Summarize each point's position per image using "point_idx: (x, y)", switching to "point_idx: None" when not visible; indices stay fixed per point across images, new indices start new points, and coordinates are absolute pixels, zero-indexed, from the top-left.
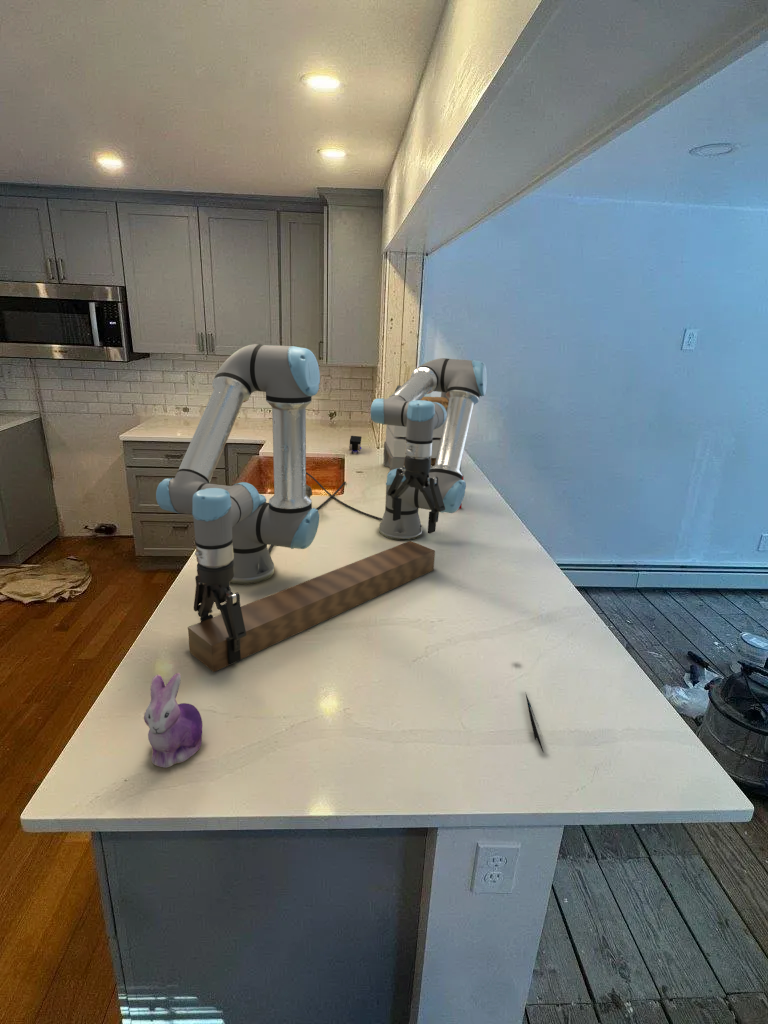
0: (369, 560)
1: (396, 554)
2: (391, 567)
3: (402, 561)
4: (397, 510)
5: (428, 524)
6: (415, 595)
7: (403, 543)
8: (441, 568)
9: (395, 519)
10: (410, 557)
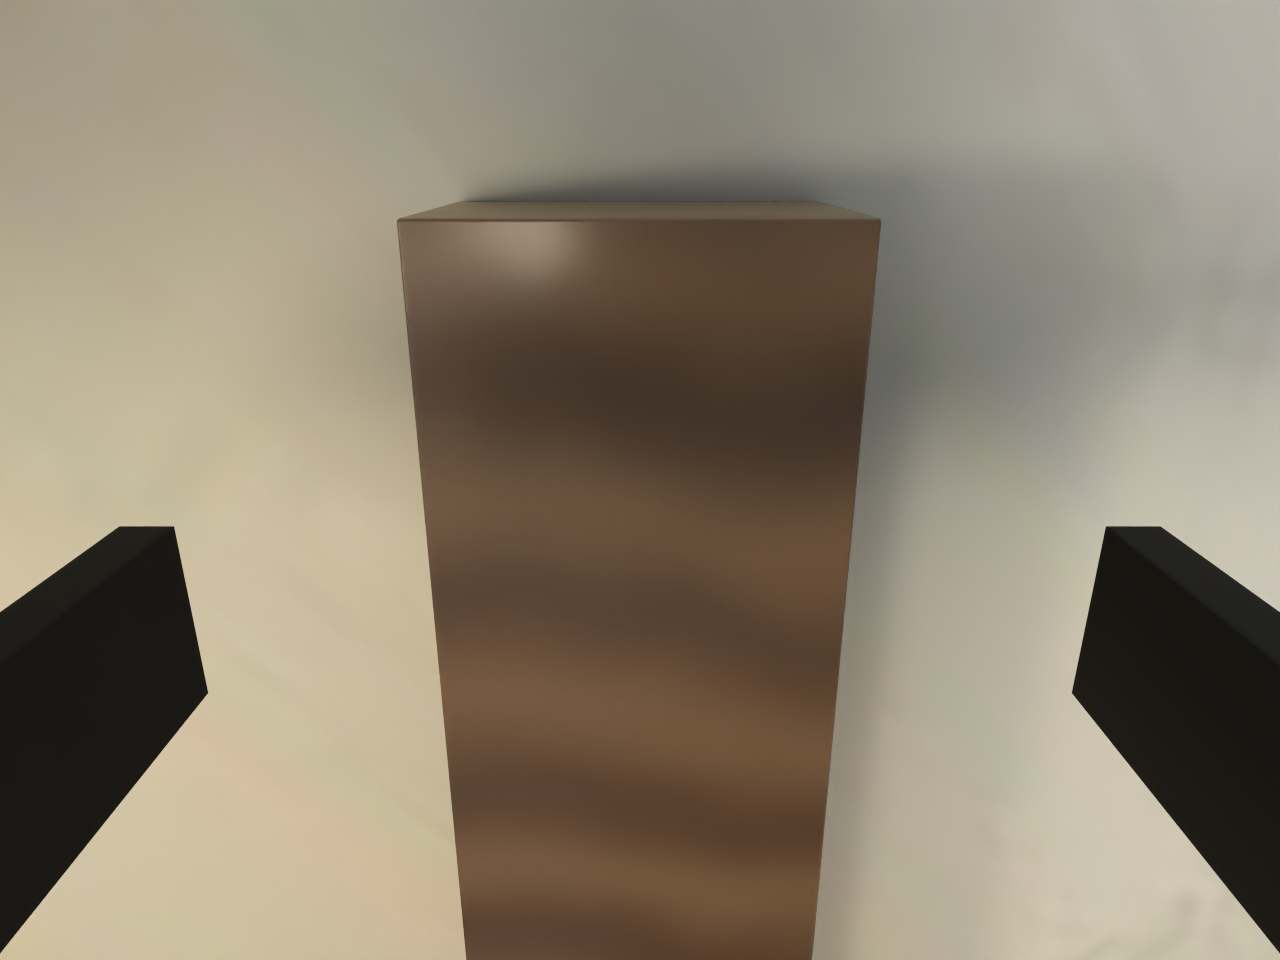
0: (534, 944)
1: (609, 676)
2: (791, 907)
3: (780, 751)
4: (61, 771)
5: (1188, 825)
6: (980, 701)
7: (418, 373)
8: (857, 86)
9: (193, 687)
10: (778, 623)
